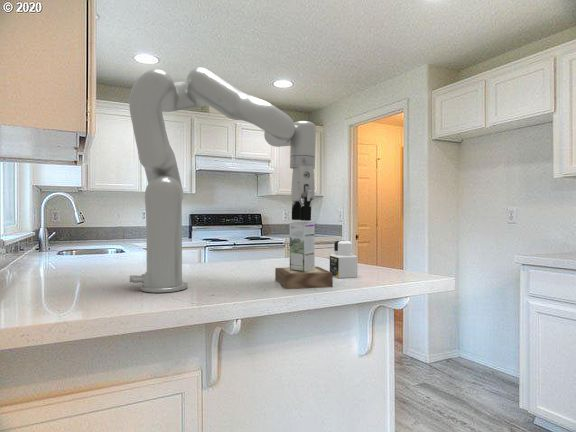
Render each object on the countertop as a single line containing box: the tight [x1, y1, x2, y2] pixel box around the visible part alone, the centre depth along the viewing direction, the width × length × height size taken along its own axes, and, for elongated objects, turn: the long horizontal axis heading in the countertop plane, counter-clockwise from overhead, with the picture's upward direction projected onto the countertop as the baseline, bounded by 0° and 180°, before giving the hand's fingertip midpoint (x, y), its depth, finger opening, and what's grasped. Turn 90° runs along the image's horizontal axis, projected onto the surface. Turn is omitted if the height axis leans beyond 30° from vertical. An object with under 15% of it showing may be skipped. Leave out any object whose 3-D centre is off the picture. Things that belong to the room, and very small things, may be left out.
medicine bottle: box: [329, 240, 358, 279], centre depth 131 cm, size 7×7×12 cm
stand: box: [274, 266, 334, 290], centre depth 118 cm, size 14×14×4 cm
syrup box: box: [288, 221, 316, 272], centre depth 118 cm, size 6×6×14 cm
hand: (300, 220), depth 117 cm, fingers open, 9 cm apart
